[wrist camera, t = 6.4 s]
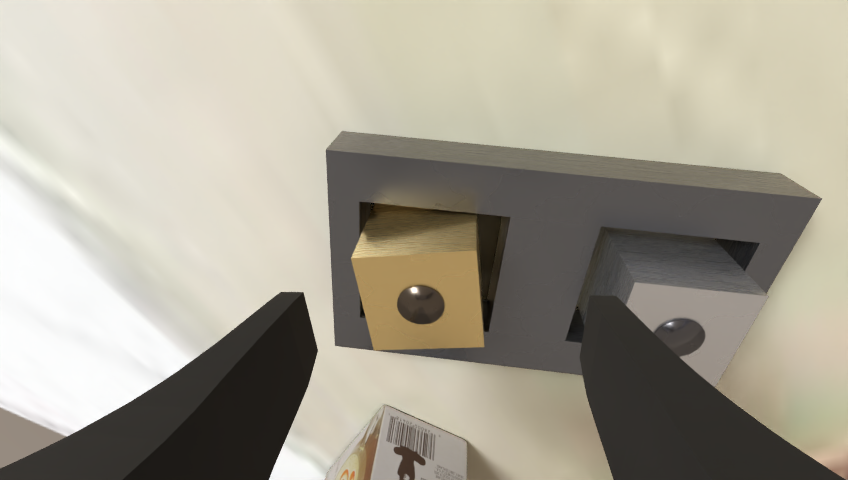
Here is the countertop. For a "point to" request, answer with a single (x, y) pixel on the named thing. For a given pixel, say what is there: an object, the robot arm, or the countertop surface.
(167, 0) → the countertop surface
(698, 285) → the zinc cube
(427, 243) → the tan wooden block
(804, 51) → the countertop surface
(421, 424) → the coffee box
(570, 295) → the grey square-hole board
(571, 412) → the countertop surface
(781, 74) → the countertop surface
